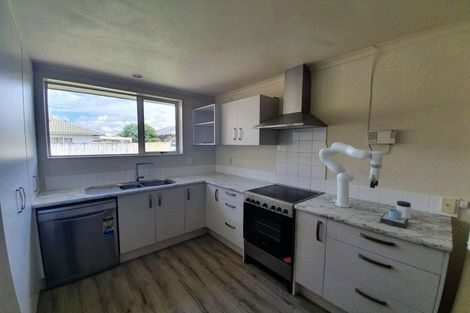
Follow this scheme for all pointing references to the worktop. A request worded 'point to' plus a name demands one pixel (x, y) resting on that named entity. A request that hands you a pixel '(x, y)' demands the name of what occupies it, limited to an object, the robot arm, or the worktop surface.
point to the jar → (404, 209)
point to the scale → (394, 221)
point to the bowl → (394, 214)
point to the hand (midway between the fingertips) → (373, 186)
